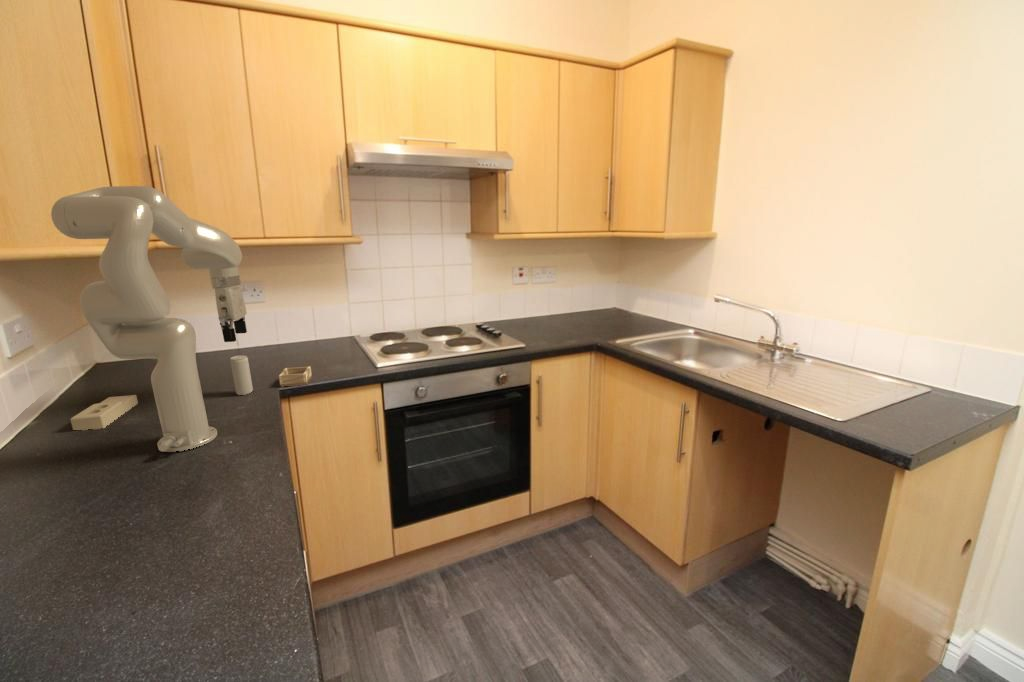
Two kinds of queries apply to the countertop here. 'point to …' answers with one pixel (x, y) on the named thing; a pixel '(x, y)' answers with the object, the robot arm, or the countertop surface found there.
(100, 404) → the electrical outlet
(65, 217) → the robot arm
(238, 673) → the countertop surface
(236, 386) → the beverage can
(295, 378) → the can holder block
